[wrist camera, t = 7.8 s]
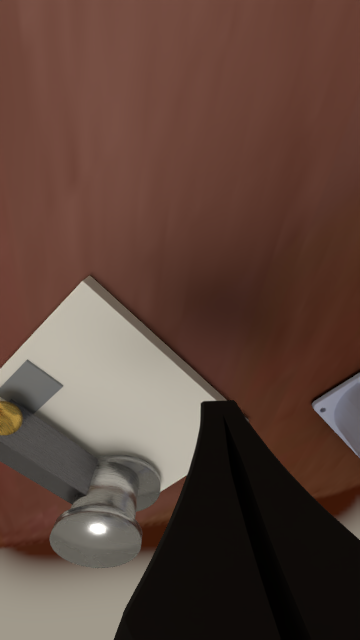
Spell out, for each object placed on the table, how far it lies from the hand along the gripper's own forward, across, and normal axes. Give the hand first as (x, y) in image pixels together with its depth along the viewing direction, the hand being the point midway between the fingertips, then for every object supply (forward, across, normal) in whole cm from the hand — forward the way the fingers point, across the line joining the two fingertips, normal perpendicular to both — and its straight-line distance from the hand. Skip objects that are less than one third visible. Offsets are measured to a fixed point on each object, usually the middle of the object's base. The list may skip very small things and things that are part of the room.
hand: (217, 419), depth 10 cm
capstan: (+8, +10, +11) cm, 17 cm away
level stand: (+9, +8, +9) cm, 15 cm away
